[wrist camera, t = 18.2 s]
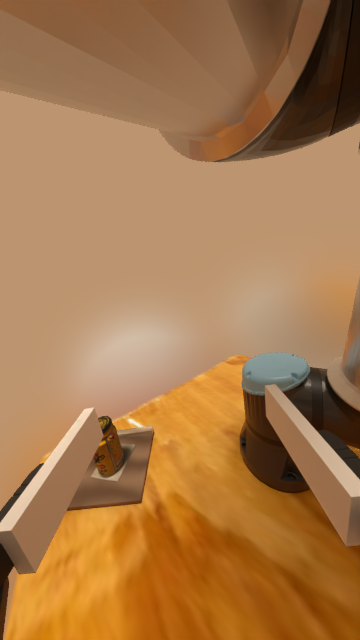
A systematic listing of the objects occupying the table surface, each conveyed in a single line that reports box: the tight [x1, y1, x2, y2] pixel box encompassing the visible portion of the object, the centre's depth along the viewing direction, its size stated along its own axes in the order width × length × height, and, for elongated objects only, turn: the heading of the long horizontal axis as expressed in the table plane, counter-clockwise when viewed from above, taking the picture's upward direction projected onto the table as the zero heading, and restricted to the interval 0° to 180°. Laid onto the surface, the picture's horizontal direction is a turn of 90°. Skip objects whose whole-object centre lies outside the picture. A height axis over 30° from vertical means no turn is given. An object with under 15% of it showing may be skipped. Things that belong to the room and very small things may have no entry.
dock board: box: [67, 426, 154, 511], centre depth 42 cm, size 16×18×2 cm
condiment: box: [91, 416, 135, 481], centre depth 41 cm, size 7×8×12 cm
